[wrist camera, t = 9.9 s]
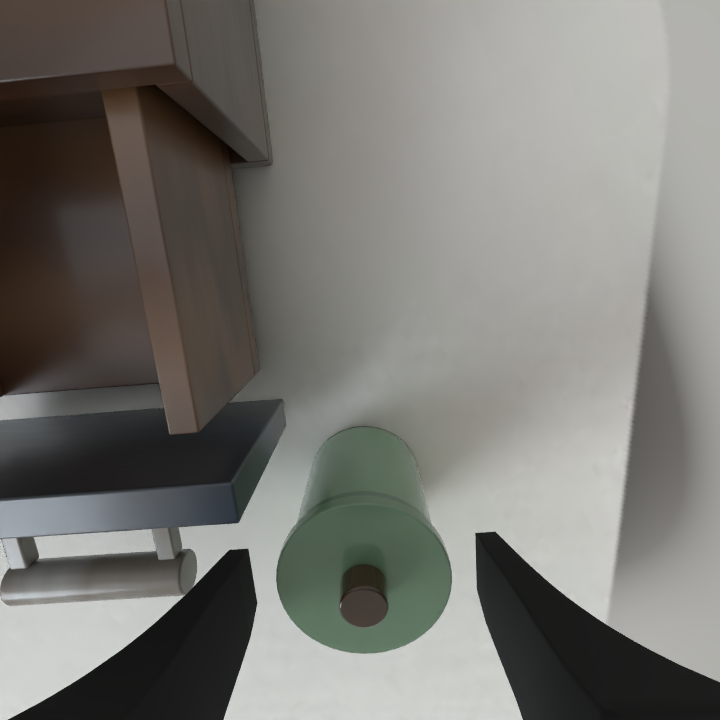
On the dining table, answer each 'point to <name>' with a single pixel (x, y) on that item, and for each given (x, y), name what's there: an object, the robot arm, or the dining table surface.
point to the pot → (364, 548)
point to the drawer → (122, 340)
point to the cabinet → (145, 59)
